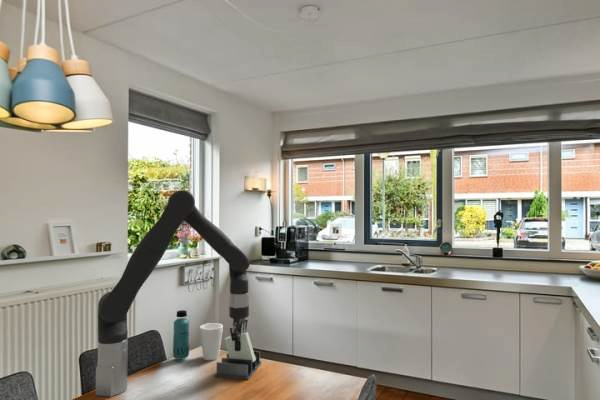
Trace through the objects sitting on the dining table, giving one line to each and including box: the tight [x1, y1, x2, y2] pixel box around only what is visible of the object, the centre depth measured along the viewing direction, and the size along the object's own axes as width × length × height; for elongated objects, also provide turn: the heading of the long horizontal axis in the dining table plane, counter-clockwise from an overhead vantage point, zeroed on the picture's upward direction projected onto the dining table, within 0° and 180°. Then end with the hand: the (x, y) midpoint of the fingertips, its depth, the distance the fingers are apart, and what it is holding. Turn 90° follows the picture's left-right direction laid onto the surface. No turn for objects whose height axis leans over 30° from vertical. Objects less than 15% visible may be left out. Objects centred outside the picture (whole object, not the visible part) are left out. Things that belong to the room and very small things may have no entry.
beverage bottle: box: [172, 309, 190, 360], centre depth 169 cm, size 6×7×20 cm
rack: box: [214, 350, 262, 381], centre depth 158 cm, size 16×13×5 cm
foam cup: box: [199, 322, 224, 361], centre depth 172 cm, size 10×9×13 cm
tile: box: [223, 331, 256, 362], centre depth 158 cm, size 3×9×11 cm, turn 78°
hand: (239, 349), depth 158 cm, fingers closed on tile, 2 cm apart
